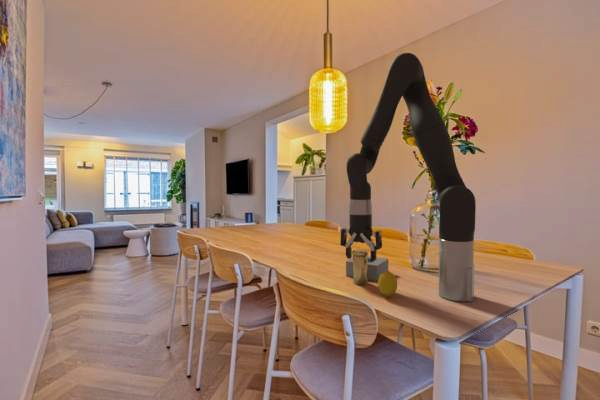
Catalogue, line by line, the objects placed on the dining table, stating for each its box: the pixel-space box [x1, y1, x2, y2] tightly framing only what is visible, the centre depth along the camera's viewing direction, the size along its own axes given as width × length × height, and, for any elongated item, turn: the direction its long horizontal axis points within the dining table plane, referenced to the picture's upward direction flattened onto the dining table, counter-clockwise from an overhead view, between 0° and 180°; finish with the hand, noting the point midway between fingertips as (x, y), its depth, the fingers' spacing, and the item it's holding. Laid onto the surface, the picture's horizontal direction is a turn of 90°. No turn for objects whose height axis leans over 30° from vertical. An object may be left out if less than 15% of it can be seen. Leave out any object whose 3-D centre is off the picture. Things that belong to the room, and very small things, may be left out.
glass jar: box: [352, 249, 369, 286], centre depth 107 cm, size 5×5×11 cm
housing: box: [345, 255, 389, 282], centre depth 117 cm, size 12×12×6 cm
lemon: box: [377, 270, 398, 298], centre depth 93 cm, size 6×6×8 cm
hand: (360, 259), depth 107 cm, fingers open, 8 cm apart
